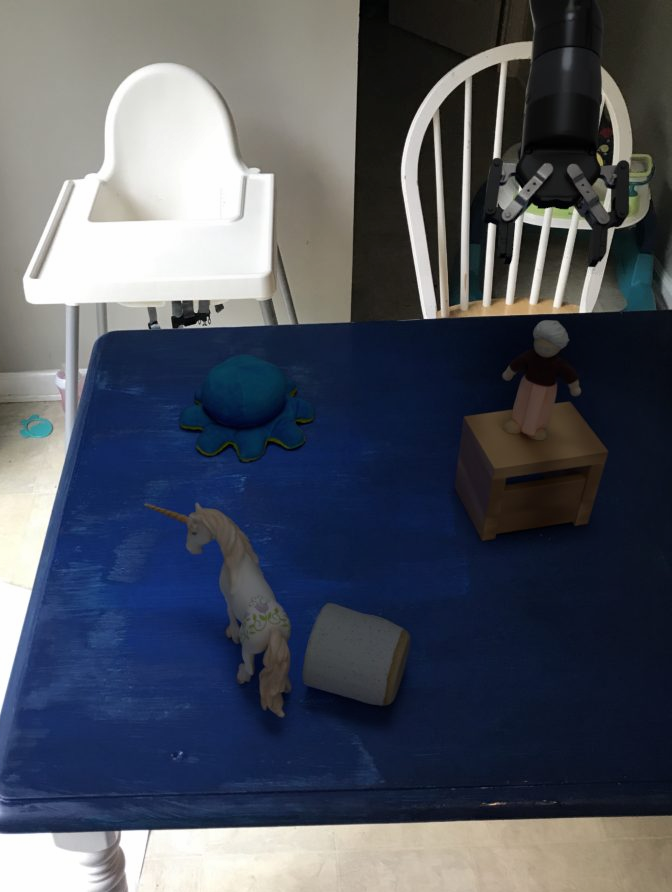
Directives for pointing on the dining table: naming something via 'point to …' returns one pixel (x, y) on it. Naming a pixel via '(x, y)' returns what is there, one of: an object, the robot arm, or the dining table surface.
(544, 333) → the grandmother figurine
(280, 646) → the unicorn figurine
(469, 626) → the dining table surface
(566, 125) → the robot arm
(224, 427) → the plush toy
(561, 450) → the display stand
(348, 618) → the grey cylinder
